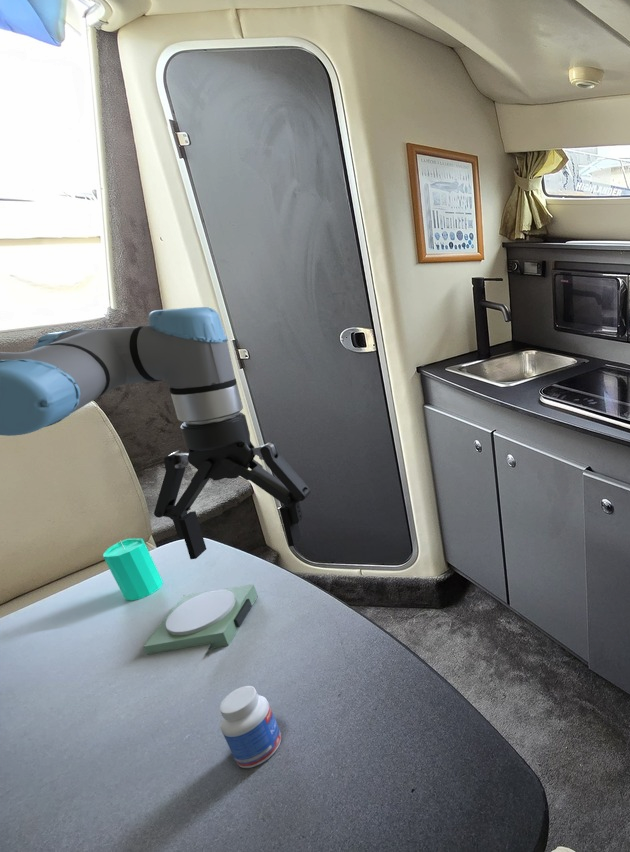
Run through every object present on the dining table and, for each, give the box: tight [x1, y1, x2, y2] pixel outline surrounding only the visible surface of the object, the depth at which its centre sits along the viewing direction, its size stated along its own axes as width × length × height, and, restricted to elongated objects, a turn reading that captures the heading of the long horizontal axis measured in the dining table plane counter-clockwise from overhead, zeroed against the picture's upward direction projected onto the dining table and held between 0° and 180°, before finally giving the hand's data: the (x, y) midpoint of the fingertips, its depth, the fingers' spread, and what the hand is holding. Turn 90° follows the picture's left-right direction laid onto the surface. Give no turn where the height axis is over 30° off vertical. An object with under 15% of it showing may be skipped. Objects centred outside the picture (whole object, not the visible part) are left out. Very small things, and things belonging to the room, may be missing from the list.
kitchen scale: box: [143, 583, 259, 655], centre depth 89 cm, size 12×12×4 cm
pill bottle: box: [219, 685, 282, 769], centre depth 67 cm, size 6×5×10 cm
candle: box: [102, 538, 164, 601], centre depth 97 cm, size 6×6×12 cm
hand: (247, 548), depth 76 cm, fingers open, 13 cm apart
